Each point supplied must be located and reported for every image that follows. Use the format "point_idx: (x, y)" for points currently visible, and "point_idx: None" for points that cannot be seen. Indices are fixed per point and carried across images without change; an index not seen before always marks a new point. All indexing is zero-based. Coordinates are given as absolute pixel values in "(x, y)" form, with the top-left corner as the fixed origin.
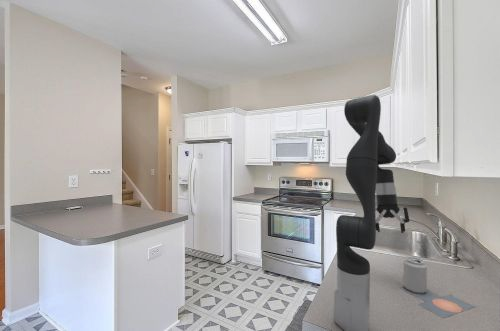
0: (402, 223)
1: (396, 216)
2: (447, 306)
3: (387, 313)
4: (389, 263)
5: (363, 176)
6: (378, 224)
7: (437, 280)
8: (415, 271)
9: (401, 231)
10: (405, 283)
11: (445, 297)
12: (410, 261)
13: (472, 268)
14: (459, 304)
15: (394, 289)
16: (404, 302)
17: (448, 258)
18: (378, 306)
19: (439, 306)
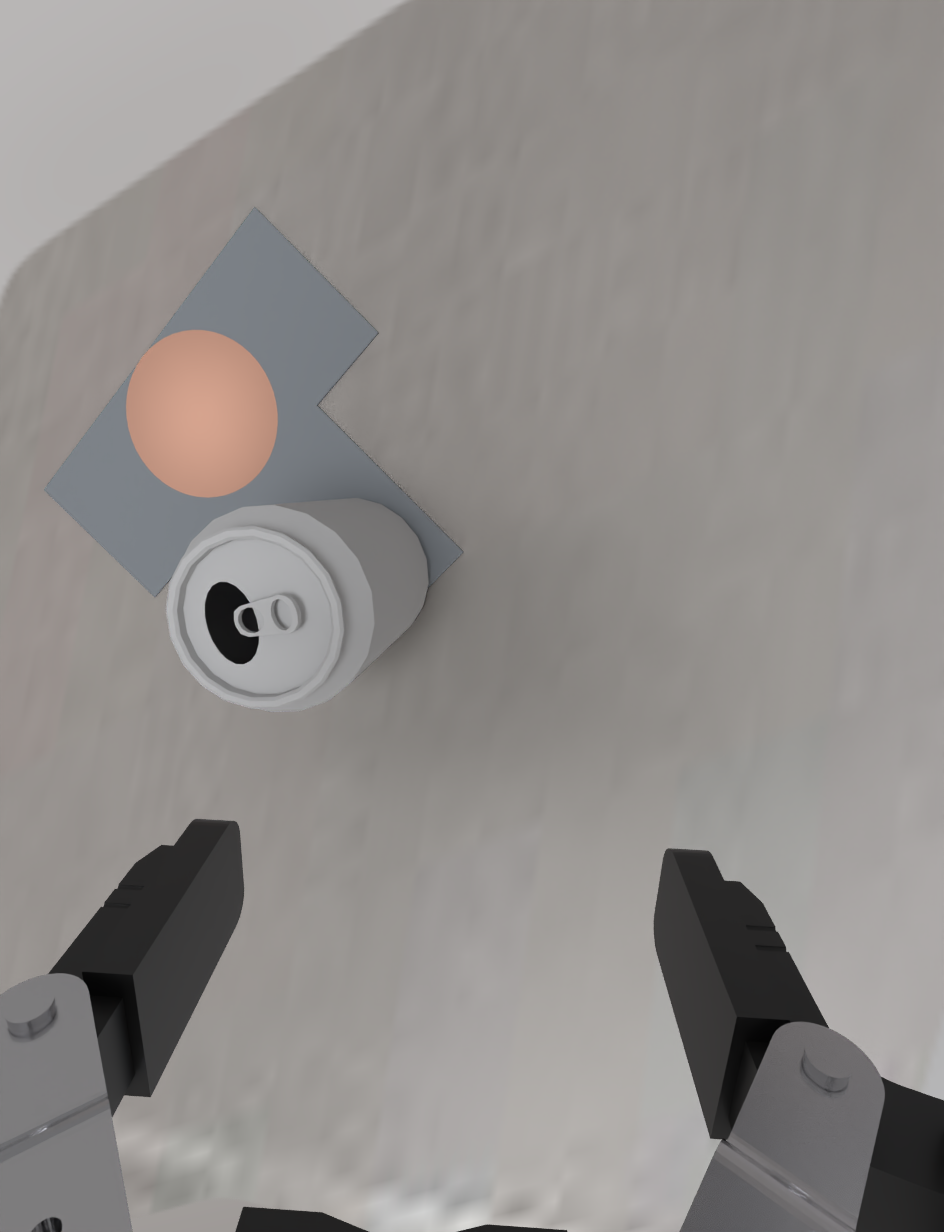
0: (70, 975)
1: (69, 1222)
2: (199, 397)
3: (616, 54)
4: (472, 1006)
5: None
6: (740, 989)
7: (184, 805)
8: (299, 503)
9: (224, 833)
10: (413, 546)
11: (185, 537)
12: (305, 548)
13: None
14: (125, 468)
15: (504, 508)
16: (465, 314)
17: None
18: (670, 134)
19: (246, 371)
